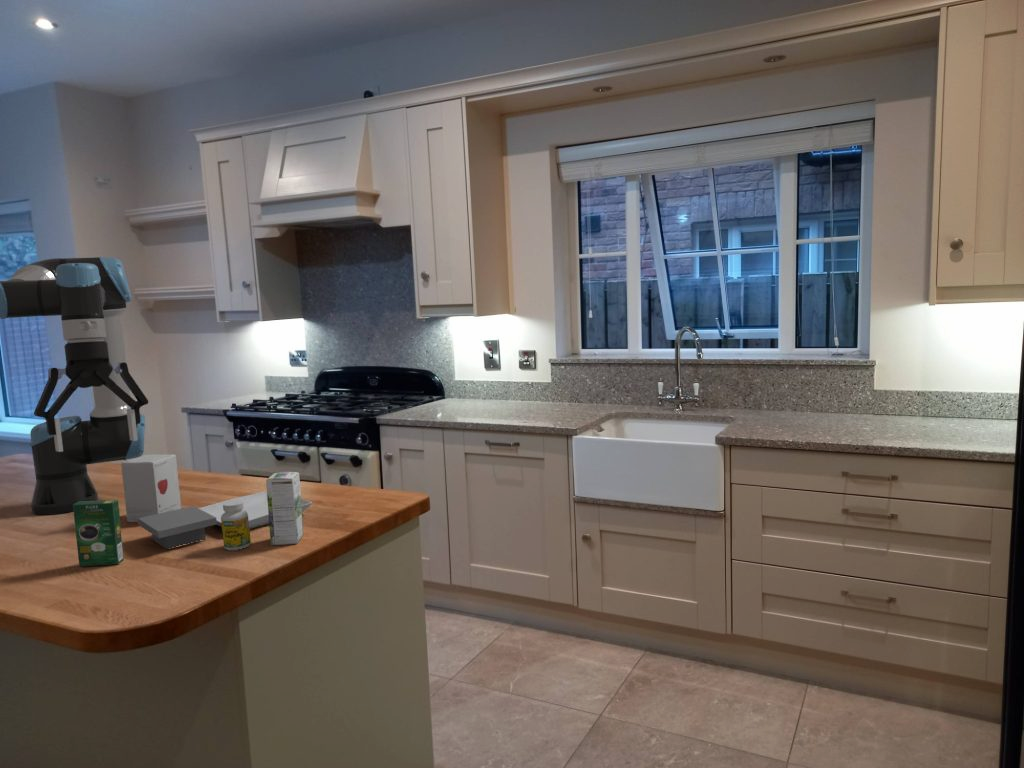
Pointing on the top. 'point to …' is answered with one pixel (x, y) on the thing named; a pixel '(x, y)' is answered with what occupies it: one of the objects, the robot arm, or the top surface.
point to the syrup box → (284, 508)
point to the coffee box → (98, 532)
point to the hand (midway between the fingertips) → (97, 445)
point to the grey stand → (178, 526)
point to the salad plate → (249, 509)
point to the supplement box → (150, 485)
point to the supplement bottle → (235, 526)
